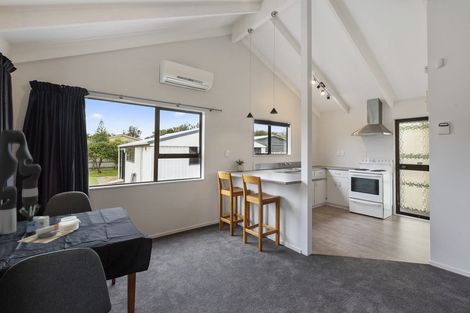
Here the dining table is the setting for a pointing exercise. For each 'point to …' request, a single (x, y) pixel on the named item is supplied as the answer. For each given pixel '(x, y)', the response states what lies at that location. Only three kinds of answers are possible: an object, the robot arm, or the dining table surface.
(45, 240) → the panel
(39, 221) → the light bulb box
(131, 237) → the dining table surface
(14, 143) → the robot arm
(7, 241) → the dining table surface
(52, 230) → the dial
